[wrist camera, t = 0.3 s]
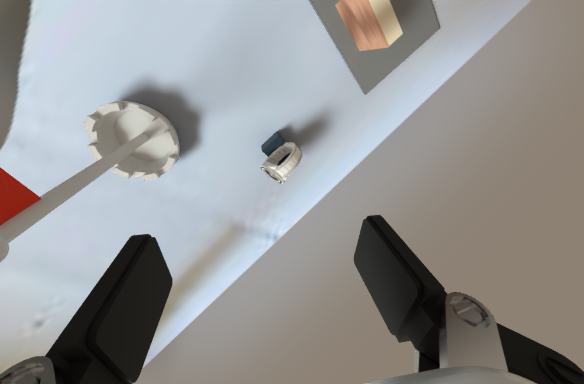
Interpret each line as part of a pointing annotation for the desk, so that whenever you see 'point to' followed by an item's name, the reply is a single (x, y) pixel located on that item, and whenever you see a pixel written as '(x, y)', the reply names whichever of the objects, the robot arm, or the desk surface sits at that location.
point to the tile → (370, 22)
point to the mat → (380, 62)
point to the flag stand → (96, 163)
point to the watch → (280, 158)
